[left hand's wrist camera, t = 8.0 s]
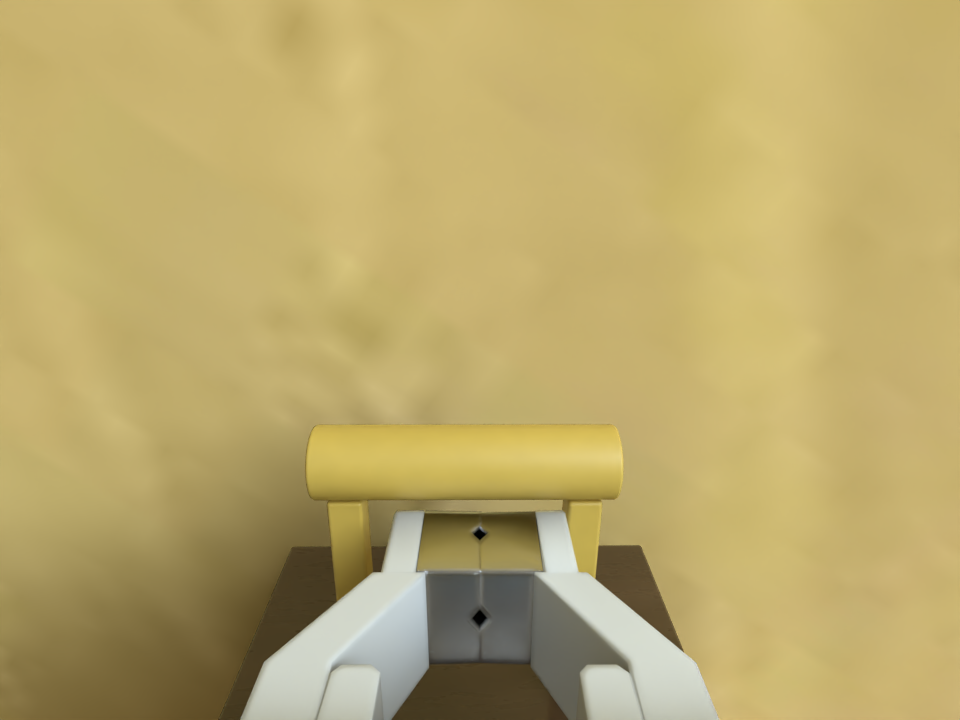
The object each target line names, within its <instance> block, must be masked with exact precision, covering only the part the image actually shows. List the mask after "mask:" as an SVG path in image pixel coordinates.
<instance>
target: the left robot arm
mask: <svg viewBox="0 0 960 720" xmlns="http://www.w3.org/2000/svg"><path fill="white" fill-rule="evenodd" d="M463 663H495V664H531V668H532V670H533V671H534V672H535V674H536V675H537V677H538V678H539V679H540V681H541V682H542V684H543V685H544V686H545V688H546V689H547V691H548V692H549V693H550V695H551V696H552V697H553V699H554V700H555V702H556V703H557V704H558V706H559V707H560V709H561V710H562V711H563V713H564V714H565V715H566V717H567V718H568V720H719V718H718V715H717V713H716V710H715V708H714V705H713V703H712V701H711V698H710V696H709V693H708V691H707V688H706V686H705V683H704V681H703V678H702V676H701V673H700V671H699V668H698V666H697V664H696V662H695V661H693V660H692V659H691V658H690V657H689V656H687V655H686V654H685V653H684V652H682V651H681V650H680V649H679V648H678V647H676V646H675V645H674V644H673V643H672V642H670V641H669V640H668V639H667V638H666V637H664V636H663V635H662V634H661V633H660V632H658V631H657V630H656V629H655V628H654V627H652V626H651V625H650V624H649V623H648V622H646V621H645V620H644V619H643V618H642V617H640V616H639V615H638V614H637V613H636V612H634V611H633V610H632V609H631V608H629V607H628V606H627V605H626V604H625V603H623V602H622V601H621V600H620V599H619V598H617V597H616V596H615V595H614V594H613V593H611V592H610V591H609V590H608V589H607V588H605V587H604V586H603V585H602V584H601V583H599V582H598V581H597V580H596V579H595V578H593V577H592V576H591V575H590V574H589V573H587V572H579V571H578V567H577V563H576V558H575V554H574V550H573V545H572V541H571V536H570V532H569V528H568V523H567V519H566V514H565V512H564V511H563V510H547V511H535V512H474V511H427V510H426V512H425V511H424V510H397V511H396V513H395V514H394V517H393V521H392V526H391V530H390V534H389V539H388V543H387V548H386V552H385V557H384V561H383V565H382V570H381V572H373V573H371V574H370V575H369V576H367V577H366V578H365V579H364V580H363V581H361V582H360V583H359V584H358V585H357V586H355V587H354V588H353V589H352V590H351V591H349V592H348V593H347V594H346V595H344V596H343V597H342V598H341V599H340V600H338V601H337V602H336V603H335V604H334V605H332V606H331V607H330V608H329V609H328V610H326V611H325V612H324V613H323V614H321V615H320V616H319V617H318V618H317V619H315V620H314V621H313V622H312V623H311V624H309V625H308V626H307V627H306V628H305V629H303V630H302V631H301V632H300V633H298V634H297V635H296V636H295V637H294V638H292V639H291V640H290V641H289V642H288V643H286V644H285V645H284V646H283V647H281V648H280V649H279V650H278V651H277V652H275V653H274V654H273V655H272V656H271V657H269V658H268V659H267V660H266V661H265V662H264V663H263V666H262V668H261V671H260V673H259V675H258V678H257V680H256V683H255V685H254V687H253V690H252V692H251V695H250V697H249V700H248V702H247V704H246V707H245V709H244V712H243V714H242V717H241V719H240V720H392V718H393V717H394V715H395V714H396V713H397V711H398V710H399V708H400V707H401V706H402V704H403V703H404V702H405V700H406V699H407V697H408V696H409V695H410V693H411V692H412V691H413V689H414V688H415V686H416V685H417V684H418V682H419V681H420V680H421V678H422V677H423V675H424V674H425V673H426V671H427V670H428V669H429V664H463Z"/></svg>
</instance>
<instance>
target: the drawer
mask: <svg viewBox="0 0 960 720" xmlns="http://www.w3.org/2000/svg"><path fill="white" fill-rule="evenodd" d="M305 477H306V485H307V490H308V493H309V496H310V498H311V499H313V500H329V501H328V503H327V511H328V521H329V531H330V540H331V547H293V548H292V549H291V551H290V553H289V556H288V558H287V561H286V563H285V565H284V568H283V570H282V572H281V575H280V577H279V579H278V582H277V584H276V586H275V589H274V591H273V593H272V596H271V598H270V600H269V603H268V605H267V607H266V610H265V612H264V614H263V617H262V619H261V621H260V624H259V626H258V629H257V631H256V633H255V636H254V638H253V640H252V643H251V645H250V647H249V650H248V652H247V654H246V657H245V659H244V661H243V664H242V666H241V668H240V671H239V673H238V675H237V678H236V680H235V682H234V685H233V687H232V689H231V692H230V694H229V696H228V699H227V701H226V704H225V706H224V708H223V711H222V713H221V715H220V718H219V720H240V719H241V717H242V714H243V712H244V709H245V707H246V704H247V702H248V700H249V697H250V695H251V692H252V690H253V687H254V685H255V683H256V680H257V678H258V675H259V673H260V671H261V668H262V666H263V663H264V662H265V661H266V660H267V659H268V658H269V657H271V656H272V655H273V654H274V653H275V652H277V651H278V650H279V649H280V648H281V647H283V646H284V645H285V644H286V643H288V642H289V641H290V640H291V639H292V638H294V637H295V636H296V635H297V634H298V633H300V632H301V631H302V630H303V629H305V628H306V627H307V626H308V625H309V624H311V623H312V622H313V621H314V620H315V619H317V618H318V617H319V616H320V615H321V614H323V613H324V612H325V611H326V610H328V609H329V608H330V607H331V606H332V605H334V604H335V603H336V602H337V601H338V600H340V599H341V598H342V597H343V596H344V595H346V594H347V593H348V592H349V591H351V590H352V589H353V588H354V587H355V586H357V585H358V584H359V583H360V582H361V581H363V580H364V579H365V578H366V577H367V576H369V575H370V574H371V573H373V572H381V570H382V565H383V561H384V557H385V552H386V548H387V547H371V538H370V525H369V511H368V500H563V507H562V510H563V511H564V512H565V514H566V519H567V523H568V528H569V532H570V536H571V541H572V545H573V550H574V554H575V558H576V563H577V567H578V571H579V572H587V573H589V574H590V575H591V576H592V577H593V578H595V579H596V580H597V581H598V582H599V583H601V584H602V585H603V586H604V587H605V588H607V589H608V590H609V591H610V592H611V593H613V594H614V595H615V596H616V597H617V598H619V599H620V600H621V601H622V602H623V603H625V604H626V605H627V606H628V607H629V608H631V609H632V610H633V611H634V612H636V613H637V614H638V615H639V616H640V617H642V618H643V619H644V620H645V621H646V622H648V623H649V624H650V625H651V626H652V627H654V628H655V629H656V630H657V631H658V632H660V633H661V634H662V635H663V636H664V637H666V638H667V639H668V640H669V641H670V642H672V643H673V644H674V645H675V646H676V647H678V648H679V649H680V650H681V651H682V652H684V651H683V649H682V646H681V644H680V641H679V639H678V636H677V634H676V631H675V629H674V626H673V624H672V621H671V619H670V617H669V614H668V612H667V609H666V607H665V604H664V602H663V599H662V597H661V594H660V592H659V590H658V587H657V585H656V582H655V580H654V577H653V575H652V572H651V570H650V567H649V565H648V562H647V560H646V558H645V555H644V553H643V550H642V548H641V546H639V545H620V546H598V545H599V535H600V524H601V514H602V502H601V499H616V498H618V496H619V494H620V492H621V488H622V482H623V452H622V445H621V440H620V436H619V433H618V431H617V429H616V427H615V426H614V425H611V424H569V425H317V426H315V427H314V428H313V429H312V431H311V434H310V436H309V440H308V444H307V450H306V459H305ZM392 720H568V718H567V717H566V715H565V714H564V713H563V711H562V710H561V709H560V707H559V706H558V704H557V703H556V702H555V700H554V699H553V697H552V696H551V695H550V693H549V692H548V691H547V689H546V688H545V686H544V685H543V684H542V682H541V681H540V679H539V678H538V677H537V675H536V674H535V672H534V671H533V670H532V668H531V664H495V663H463V664H429V669H428V670H427V671H426V673H425V674H424V675H423V677H422V678H421V680H420V681H419V682H418V684H417V685H416V686H415V688H414V689H413V691H412V692H411V693H410V695H409V696H408V697H407V699H406V700H405V702H404V703H403V704H402V706H401V707H400V708H399V710H398V711H397V713H396V714H395V715H394V717H393V718H392Z"/></svg>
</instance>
